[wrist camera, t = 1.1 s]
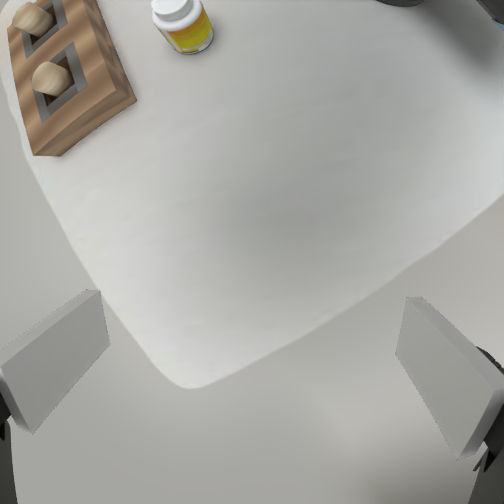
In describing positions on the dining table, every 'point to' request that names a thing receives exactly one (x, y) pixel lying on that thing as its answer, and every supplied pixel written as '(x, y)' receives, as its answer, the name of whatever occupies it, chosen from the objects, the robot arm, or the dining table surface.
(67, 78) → the short peg
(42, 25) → the beige round peg
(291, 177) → the dining table surface
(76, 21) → the socket block
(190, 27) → the supplement bottle
